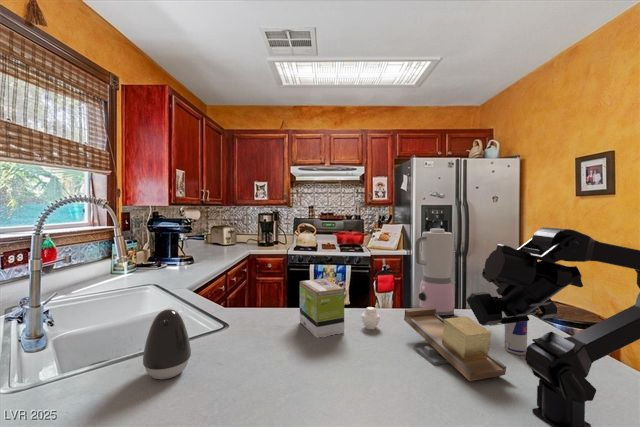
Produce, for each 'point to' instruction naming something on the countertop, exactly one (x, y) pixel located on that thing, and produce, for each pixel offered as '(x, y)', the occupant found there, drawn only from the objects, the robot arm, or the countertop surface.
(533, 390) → the countertop surface
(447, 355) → the seesaw beam
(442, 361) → the pivot stand
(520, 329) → the energy drink
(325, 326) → the tea box
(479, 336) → the tan boxy block
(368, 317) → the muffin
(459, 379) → the countertop surface
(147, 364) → the dark grey egg shape
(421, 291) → the blender
